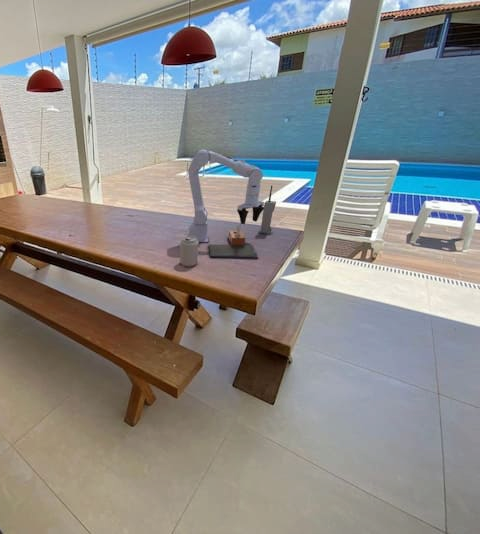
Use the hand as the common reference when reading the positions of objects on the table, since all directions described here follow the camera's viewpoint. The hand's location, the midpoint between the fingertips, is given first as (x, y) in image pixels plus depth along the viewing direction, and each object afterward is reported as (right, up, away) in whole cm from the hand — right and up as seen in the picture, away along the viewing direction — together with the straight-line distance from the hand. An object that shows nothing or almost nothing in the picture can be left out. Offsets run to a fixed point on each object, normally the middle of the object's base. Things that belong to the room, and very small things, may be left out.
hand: (248, 222), depth 150 cm
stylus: (-4, -10, +4) cm, 11 cm away
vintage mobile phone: (+15, -4, +15) cm, 22 cm away
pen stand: (-4, -9, +6) cm, 11 cm away
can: (-33, -21, -14) cm, 41 cm away
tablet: (-11, -15, -6) cm, 19 cm away
